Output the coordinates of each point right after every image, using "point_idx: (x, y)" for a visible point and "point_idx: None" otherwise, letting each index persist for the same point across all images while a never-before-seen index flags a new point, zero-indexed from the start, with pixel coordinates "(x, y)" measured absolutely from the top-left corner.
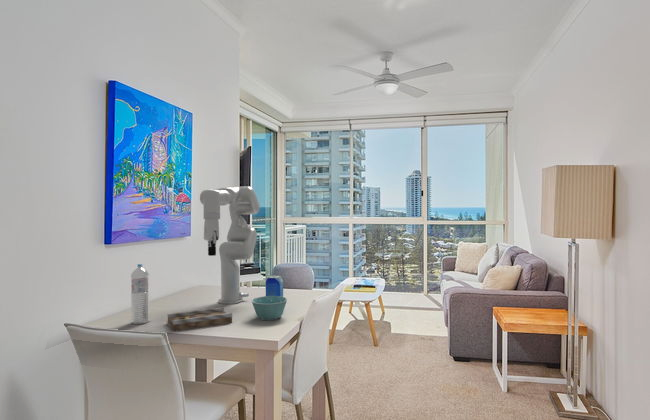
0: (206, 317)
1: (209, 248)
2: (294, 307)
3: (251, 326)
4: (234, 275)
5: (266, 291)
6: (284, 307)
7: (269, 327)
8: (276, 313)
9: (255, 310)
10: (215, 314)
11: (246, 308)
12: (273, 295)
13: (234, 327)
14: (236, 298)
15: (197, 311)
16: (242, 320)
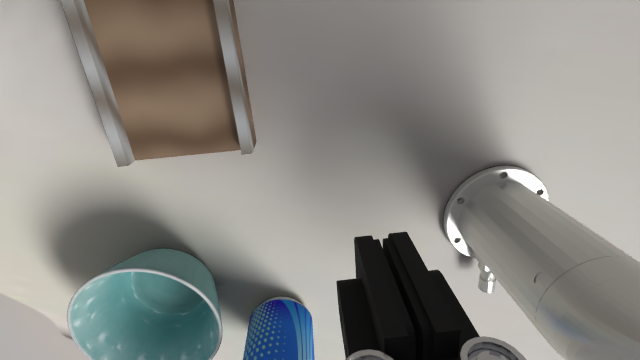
0: (79, 46)
1: (378, 323)
2: None
3: (62, 204)
4: (525, 305)
5: (271, 351)
6: (136, 345)
7: (37, 252)
8: (112, 307)
9: (143, 255)
10: (189, 104)
11: (344, 242)
12: (244, 356)
13: (59, 147)
14: (464, 238)
15: (217, 22)
16: (160, 194)
